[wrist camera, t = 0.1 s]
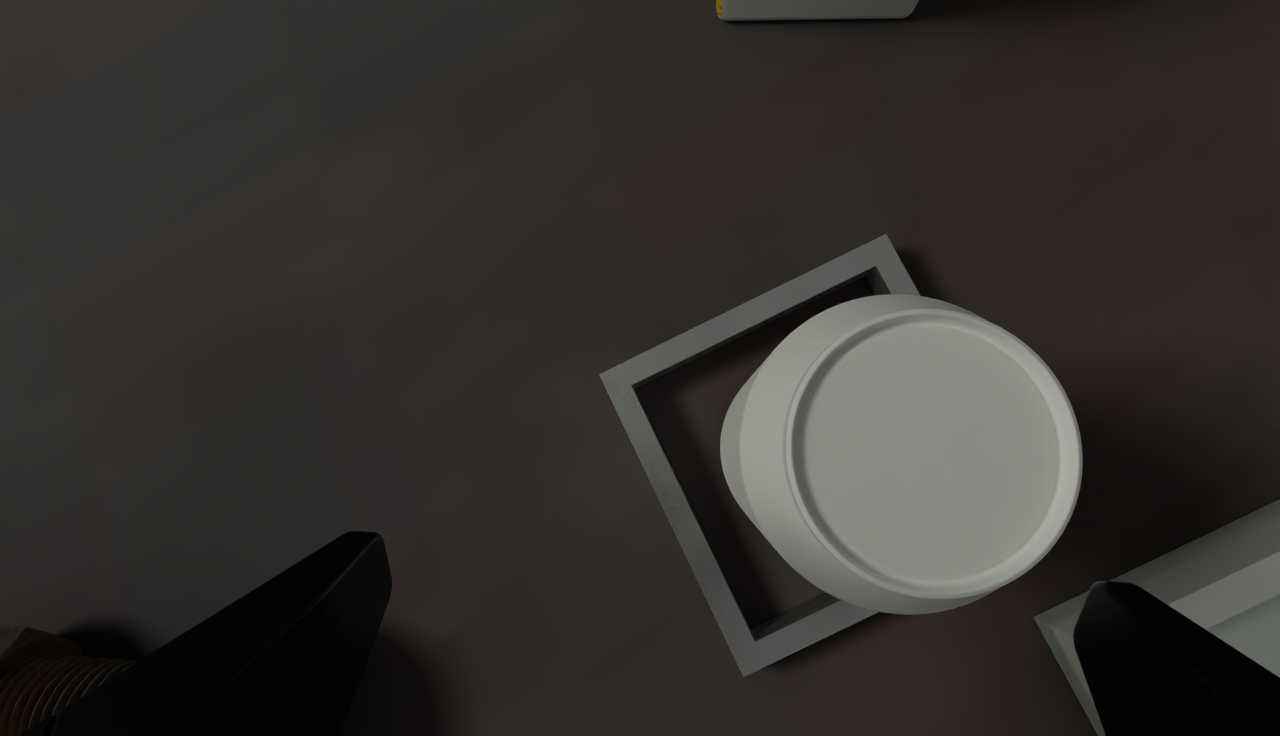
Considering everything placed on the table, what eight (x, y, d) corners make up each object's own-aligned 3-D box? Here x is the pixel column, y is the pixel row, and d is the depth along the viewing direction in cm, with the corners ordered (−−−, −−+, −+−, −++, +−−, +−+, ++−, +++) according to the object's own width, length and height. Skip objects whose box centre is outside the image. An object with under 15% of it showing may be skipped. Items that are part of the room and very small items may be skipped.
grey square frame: (1027, 523, 22) (1050, 528, 21) (739, 661, 23) (743, 677, 21) (873, 247, 24) (885, 234, 22) (604, 378, 24) (599, 374, 23)
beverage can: (938, 476, 23) (1207, 509, 11) (784, 576, 23) (886, 716, 11) (832, 325, 24) (975, 203, 12) (683, 421, 24) (677, 396, 12)
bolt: (1, 639, 27) (363, 665, 25) (-91, 789, 24) (313, 830, 22) (-148, 590, 22) (285, 619, 20) (-286, 770, 19) (208, 821, 17)
